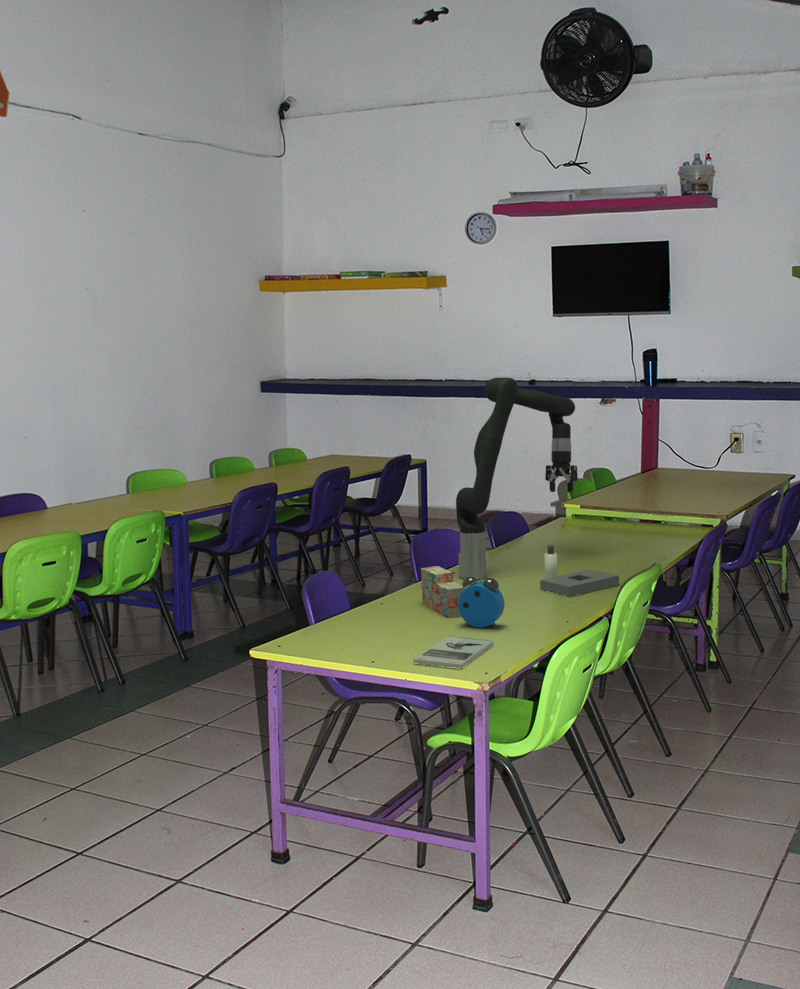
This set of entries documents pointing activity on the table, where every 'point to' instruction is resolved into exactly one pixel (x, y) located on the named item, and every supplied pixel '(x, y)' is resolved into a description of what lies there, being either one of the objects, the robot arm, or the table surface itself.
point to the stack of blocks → (440, 591)
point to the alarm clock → (480, 602)
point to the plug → (550, 563)
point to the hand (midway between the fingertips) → (561, 492)
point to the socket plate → (579, 582)
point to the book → (453, 652)
